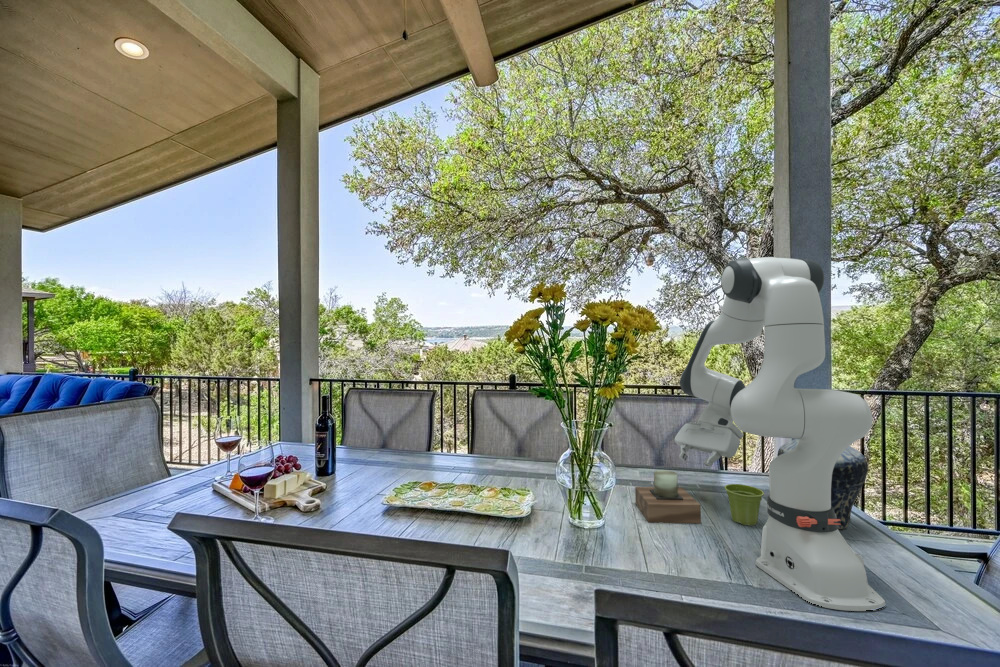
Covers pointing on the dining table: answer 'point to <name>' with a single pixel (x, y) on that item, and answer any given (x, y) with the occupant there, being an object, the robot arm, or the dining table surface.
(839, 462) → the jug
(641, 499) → the hole block
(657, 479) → the peg
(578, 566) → the dining table surface
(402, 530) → the dining table surface
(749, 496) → the plant pot
